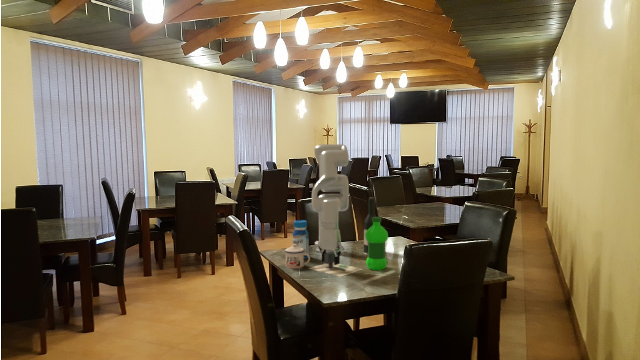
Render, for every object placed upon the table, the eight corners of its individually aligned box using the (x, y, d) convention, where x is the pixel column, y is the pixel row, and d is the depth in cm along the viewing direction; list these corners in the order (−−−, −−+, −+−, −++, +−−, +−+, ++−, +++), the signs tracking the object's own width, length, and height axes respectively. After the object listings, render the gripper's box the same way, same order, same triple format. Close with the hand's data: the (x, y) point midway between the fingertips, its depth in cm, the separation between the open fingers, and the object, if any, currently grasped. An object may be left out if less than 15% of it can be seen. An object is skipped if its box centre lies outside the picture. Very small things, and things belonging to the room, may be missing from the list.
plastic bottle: (387, 273, 210) (387, 219, 208) (364, 273, 211) (364, 219, 209) (388, 268, 219) (388, 216, 217) (365, 267, 221) (365, 215, 219)
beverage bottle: (312, 259, 237) (312, 220, 236) (300, 262, 231) (300, 223, 230) (300, 256, 243) (300, 219, 241) (289, 259, 237) (288, 221, 235)
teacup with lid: (283, 270, 217) (282, 246, 216) (287, 265, 226) (287, 242, 225) (308, 271, 215) (307, 246, 214) (311, 266, 224) (311, 242, 223)
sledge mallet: (324, 268, 215) (324, 253, 214) (332, 265, 219) (332, 251, 219) (340, 272, 208) (340, 257, 208) (348, 269, 213) (348, 254, 212)
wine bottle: (362, 250, 257) (362, 196, 255) (377, 249, 258) (377, 196, 256) (365, 253, 249) (365, 198, 247) (380, 253, 250) (380, 198, 247)
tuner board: (308, 270, 215) (308, 268, 215) (330, 264, 227) (330, 261, 227) (340, 279, 202) (340, 276, 202) (363, 271, 214) (363, 268, 213)
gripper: (311, 224, 218) (311, 261, 219) (339, 228, 206) (339, 267, 208) (322, 222, 223) (322, 258, 225) (349, 226, 212) (350, 264, 213)
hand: (330, 262), depth 216 cm, fingers open, 7 cm apart
